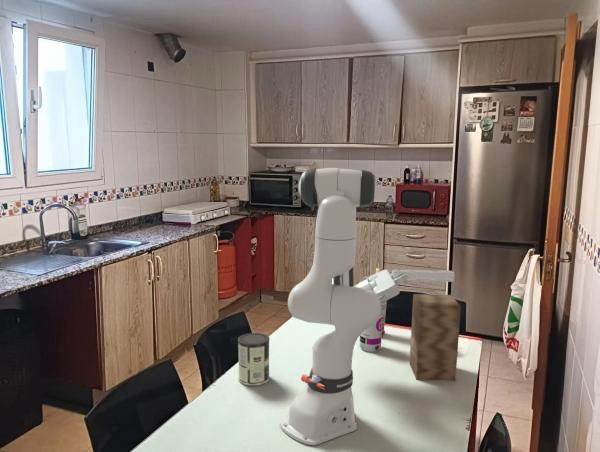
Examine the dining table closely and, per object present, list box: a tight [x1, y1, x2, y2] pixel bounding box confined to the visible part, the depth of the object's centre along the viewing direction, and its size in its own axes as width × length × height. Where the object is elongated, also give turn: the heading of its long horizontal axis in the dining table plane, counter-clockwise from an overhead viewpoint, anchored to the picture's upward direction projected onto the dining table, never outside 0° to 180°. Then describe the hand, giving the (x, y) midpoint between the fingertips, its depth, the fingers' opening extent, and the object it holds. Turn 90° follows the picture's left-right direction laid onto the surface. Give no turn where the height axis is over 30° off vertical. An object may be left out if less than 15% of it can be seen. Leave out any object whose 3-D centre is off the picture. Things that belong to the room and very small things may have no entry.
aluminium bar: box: [391, 268, 455, 283], centre depth 167 cm, size 20×3×3 cm, turn 89°
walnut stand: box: [409, 293, 462, 382], centre depth 170 cm, size 13×12×26 cm
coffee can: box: [237, 332, 270, 387], centre depth 164 cm, size 10×10×14 cm
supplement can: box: [358, 312, 383, 353], centre depth 191 cm, size 8×8×15 cm
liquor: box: [375, 267, 388, 336], centre depth 203 cm, size 7×7×28 cm
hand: (405, 273), depth 167 cm, fingers closed on aluminium bar, 3 cm apart
